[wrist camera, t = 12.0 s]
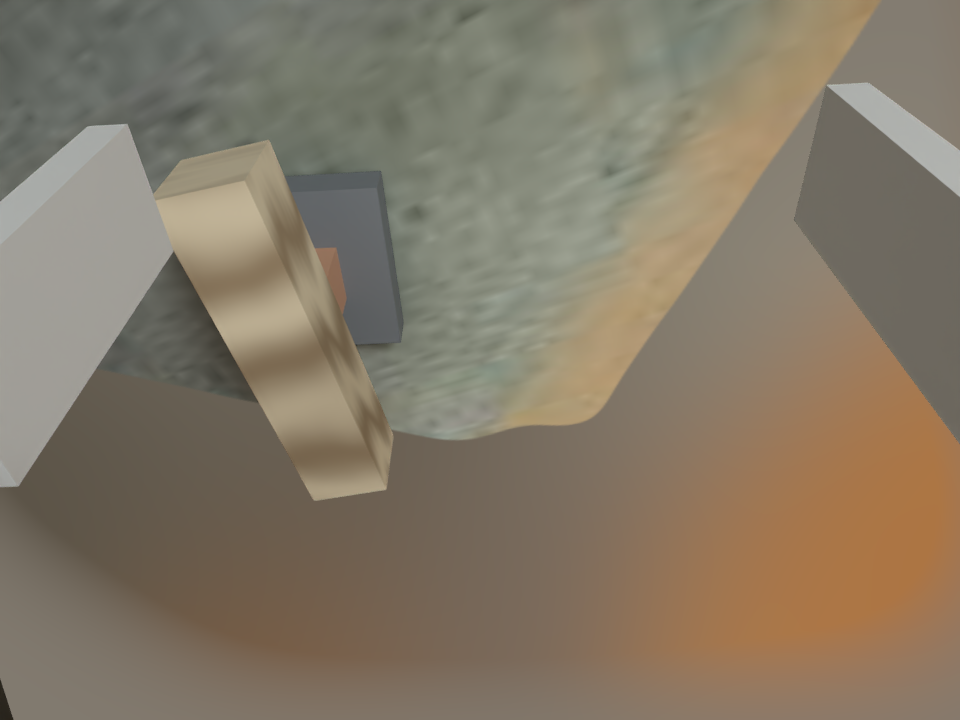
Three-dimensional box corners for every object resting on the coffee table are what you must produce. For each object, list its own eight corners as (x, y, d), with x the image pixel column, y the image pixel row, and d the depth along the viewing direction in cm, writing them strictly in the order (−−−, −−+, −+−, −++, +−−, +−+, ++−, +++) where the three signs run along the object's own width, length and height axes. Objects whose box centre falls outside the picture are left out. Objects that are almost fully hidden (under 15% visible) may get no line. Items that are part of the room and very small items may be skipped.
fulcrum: (228, 179, 47) (192, 235, 41) (380, 171, 46) (366, 226, 40) (271, 328, 54) (246, 394, 48) (403, 322, 54) (394, 387, 48)
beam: (393, 435, 51) (386, 489, 47) (326, 446, 51) (314, 501, 47) (269, 139, 37) (244, 180, 33) (180, 160, 38) (146, 202, 34)
